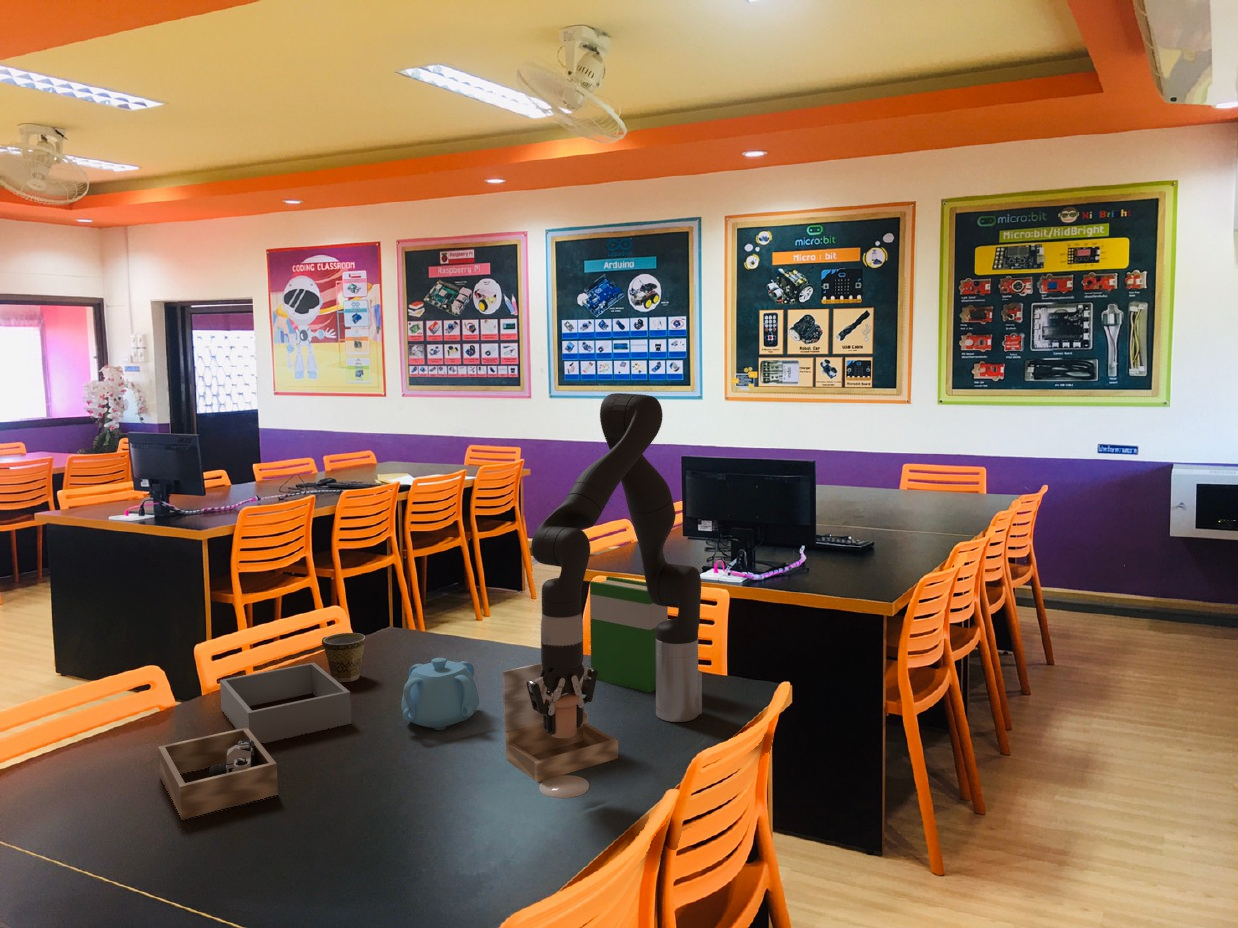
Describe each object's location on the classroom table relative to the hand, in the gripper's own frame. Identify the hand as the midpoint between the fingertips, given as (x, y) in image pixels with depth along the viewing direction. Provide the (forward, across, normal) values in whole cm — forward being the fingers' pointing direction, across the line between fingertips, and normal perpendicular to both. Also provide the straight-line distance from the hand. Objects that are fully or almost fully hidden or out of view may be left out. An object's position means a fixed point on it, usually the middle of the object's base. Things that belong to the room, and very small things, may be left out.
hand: (563, 729), depth 171 cm
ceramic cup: (+11, +12, -86) cm, 87 cm away
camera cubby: (+11, +51, -39) cm, 65 cm away
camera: (+12, +49, -36) cm, 62 cm away
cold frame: (+11, -6, -11) cm, 17 cm away
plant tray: (+11, +31, -67) cm, 74 cm away
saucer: (+11, 0, 0) cm, 11 cm away
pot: (+1, 0, 0) cm, 1 cm away
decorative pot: (+11, +4, -45) cm, 46 cm away
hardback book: (+11, -44, -41) cm, 61 cm away
